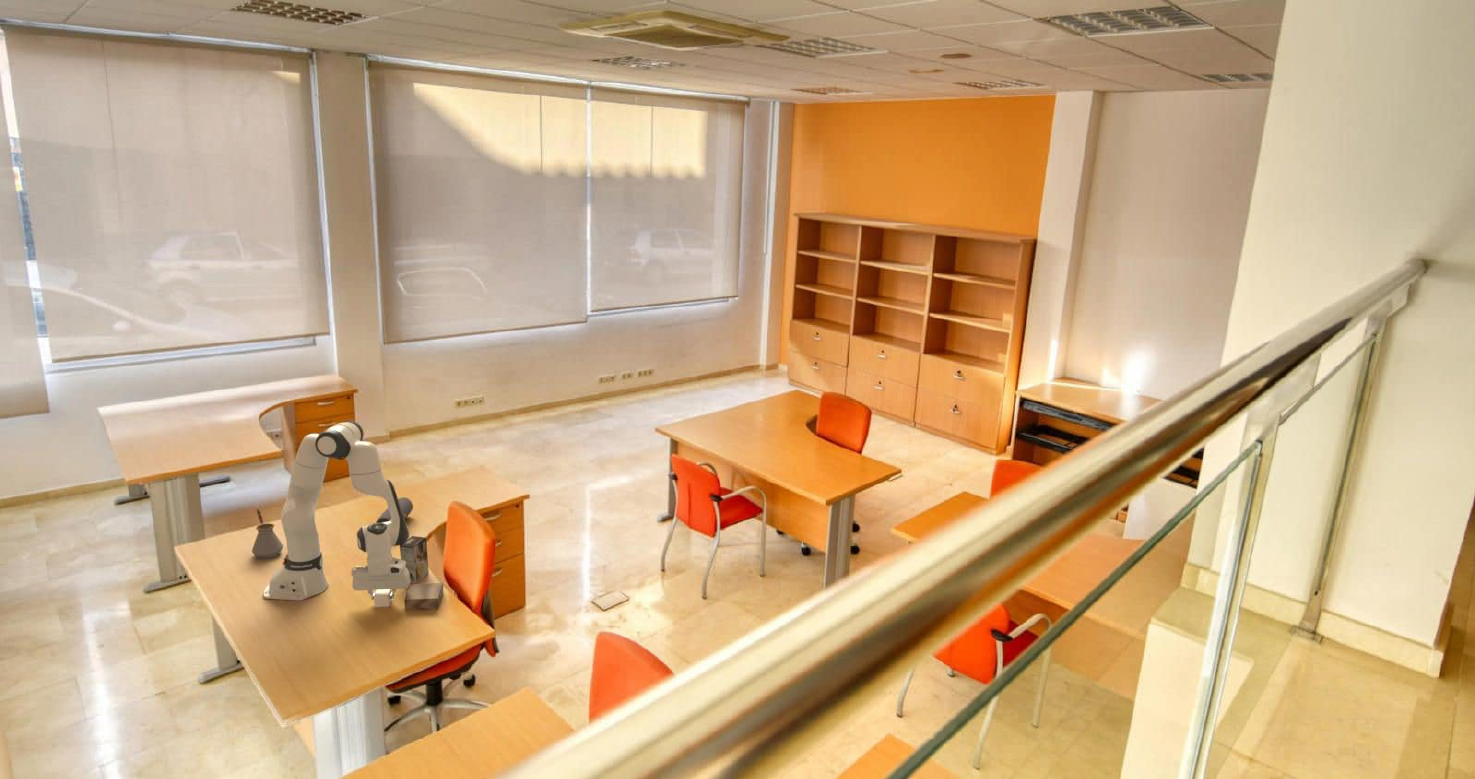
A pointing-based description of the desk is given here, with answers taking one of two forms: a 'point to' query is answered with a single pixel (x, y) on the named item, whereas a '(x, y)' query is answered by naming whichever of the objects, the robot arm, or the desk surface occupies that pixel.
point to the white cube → (382, 598)
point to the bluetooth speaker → (405, 507)
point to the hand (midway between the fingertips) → (382, 598)
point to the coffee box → (415, 557)
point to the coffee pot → (266, 541)
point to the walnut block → (423, 596)
